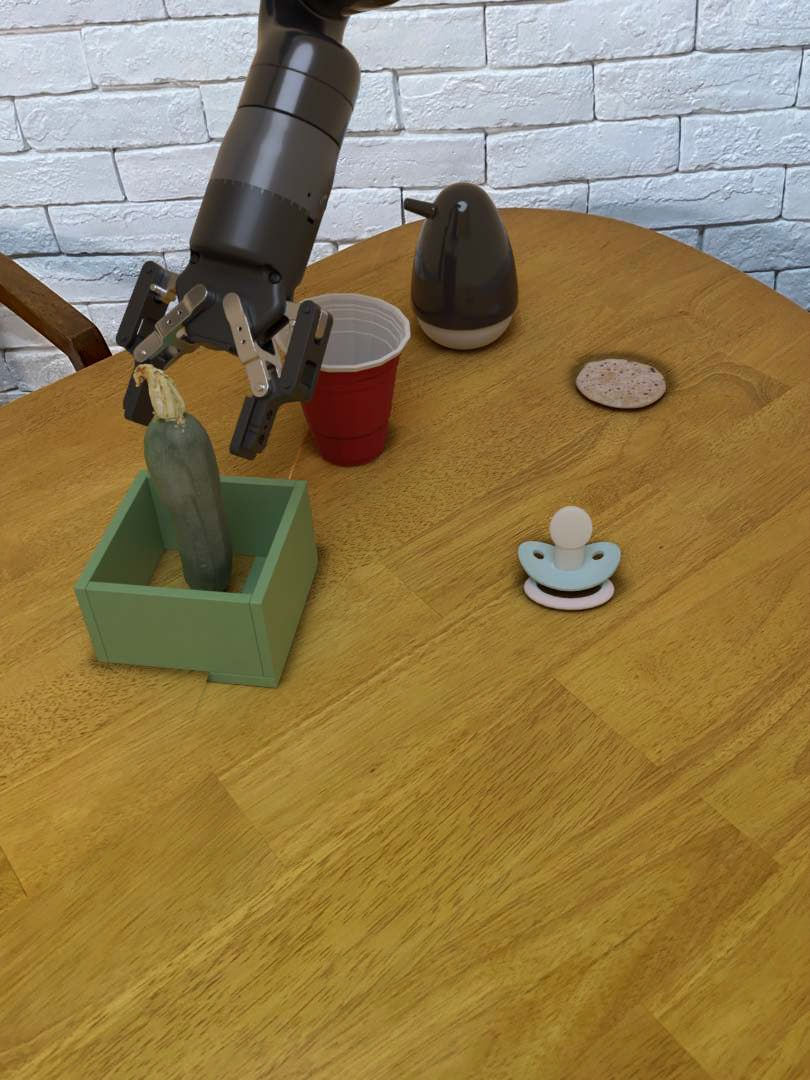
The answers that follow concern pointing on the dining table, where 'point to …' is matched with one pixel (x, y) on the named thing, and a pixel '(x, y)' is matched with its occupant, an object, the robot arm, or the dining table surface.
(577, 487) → the dining table surface
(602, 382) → the flatbread
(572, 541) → the pacifier
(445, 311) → the pump dispenser
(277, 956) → the dining table surface
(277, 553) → the green bin
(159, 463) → the vegetable
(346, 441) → the plastic cup
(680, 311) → the dining table surface
